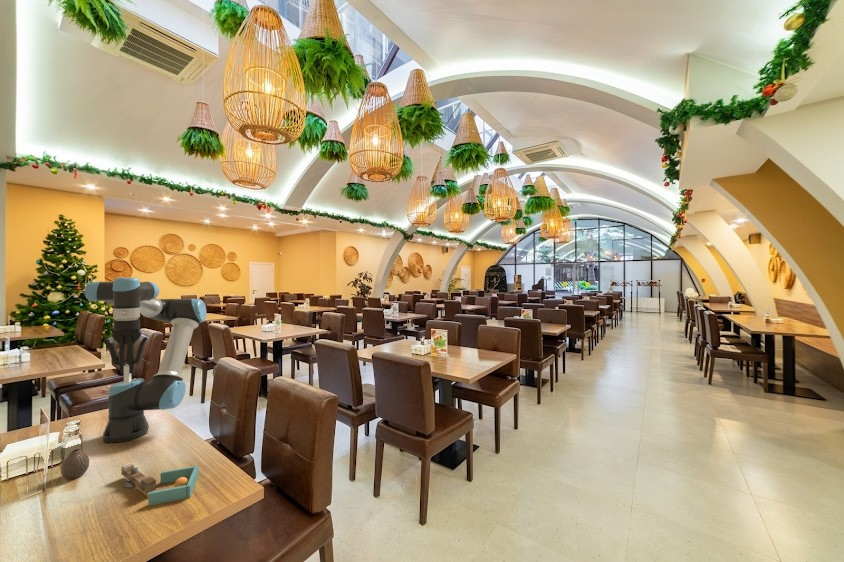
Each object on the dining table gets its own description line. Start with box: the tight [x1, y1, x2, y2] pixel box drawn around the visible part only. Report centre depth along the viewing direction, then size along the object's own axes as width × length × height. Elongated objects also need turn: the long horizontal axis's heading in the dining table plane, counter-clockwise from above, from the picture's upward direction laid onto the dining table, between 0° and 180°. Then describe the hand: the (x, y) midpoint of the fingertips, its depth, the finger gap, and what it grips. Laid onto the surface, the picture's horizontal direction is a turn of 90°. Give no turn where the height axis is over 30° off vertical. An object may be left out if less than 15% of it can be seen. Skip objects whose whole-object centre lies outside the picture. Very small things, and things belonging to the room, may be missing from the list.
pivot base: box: [123, 480, 137, 489], centre depth 114 cm, size 5×5×1 cm
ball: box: [173, 477, 189, 488], centre depth 111 cm, size 4×4×4 cm
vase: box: [60, 448, 90, 480], centre depth 118 cm, size 7×7×9 cm
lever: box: [120, 462, 157, 495], centre depth 113 cm, size 20×2×4 cm, turn 58°
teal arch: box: [147, 465, 199, 506], centre depth 111 cm, size 13×10×4 cm
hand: (127, 382), depth 129 cm, fingers closed
